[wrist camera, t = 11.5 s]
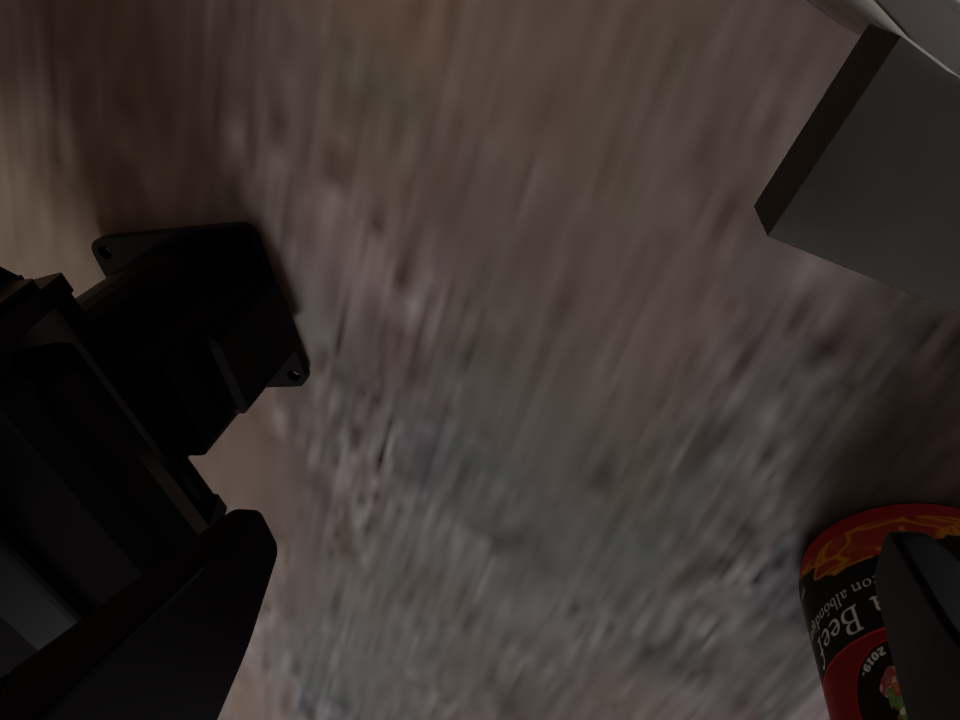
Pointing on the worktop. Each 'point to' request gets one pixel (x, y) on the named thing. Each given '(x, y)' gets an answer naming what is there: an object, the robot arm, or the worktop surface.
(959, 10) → the lid
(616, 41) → the worktop surface
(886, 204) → the pot
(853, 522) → the canned food
